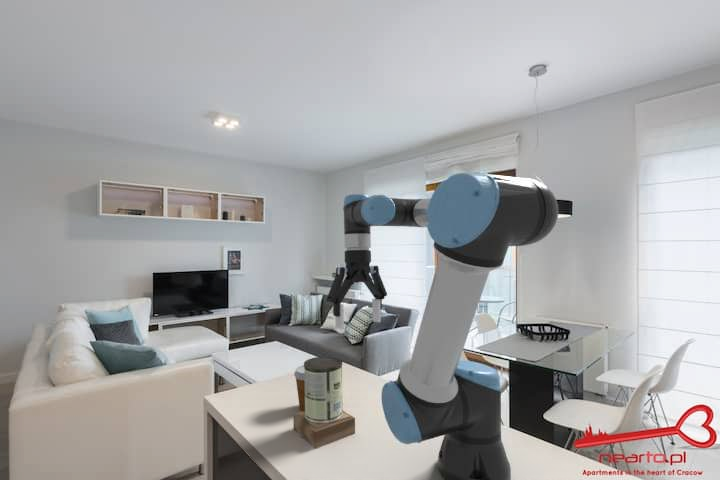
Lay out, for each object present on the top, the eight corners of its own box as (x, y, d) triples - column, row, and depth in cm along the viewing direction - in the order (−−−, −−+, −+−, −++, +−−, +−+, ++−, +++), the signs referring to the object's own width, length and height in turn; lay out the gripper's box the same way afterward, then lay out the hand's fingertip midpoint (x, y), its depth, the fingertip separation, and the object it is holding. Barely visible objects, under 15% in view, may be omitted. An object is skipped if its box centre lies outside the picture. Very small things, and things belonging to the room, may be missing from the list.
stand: (355, 433, 96) (354, 416, 96) (315, 448, 88) (315, 430, 89) (331, 416, 105) (330, 401, 105) (293, 429, 98) (293, 412, 98)
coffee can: (311, 405, 103) (311, 355, 103) (346, 407, 101) (346, 357, 101) (298, 422, 93) (298, 366, 93) (337, 425, 91) (336, 369, 91)
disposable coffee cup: (328, 401, 116) (327, 364, 116) (322, 415, 106) (321, 374, 106) (299, 400, 116) (298, 363, 117) (290, 414, 107) (290, 373, 107)
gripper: (380, 249, 113) (381, 317, 112) (313, 249, 97) (314, 329, 96) (397, 249, 108) (399, 320, 107) (329, 249, 92) (330, 333, 91)
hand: (358, 325), depth 102 cm, fingers open, 13 cm apart
